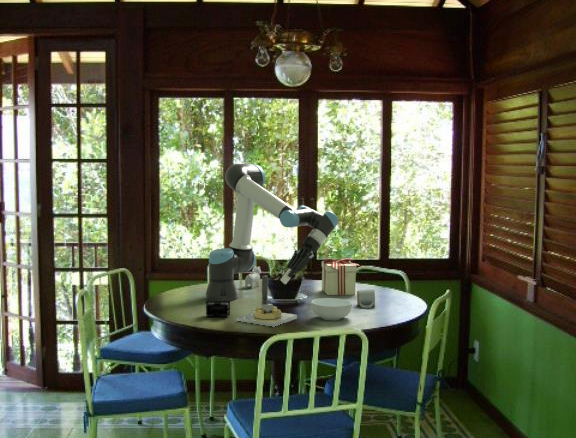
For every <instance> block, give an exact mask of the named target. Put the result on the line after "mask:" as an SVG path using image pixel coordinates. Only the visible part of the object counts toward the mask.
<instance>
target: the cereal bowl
mask: <svg viewBox="0 0 576 438" xmlns="http://www.w3.org/2000/svg"><path fill="white" fill-rule="evenodd" d="M310 304H311V311H312V312H313V313H314V315H316V316H317V317H320V318H321V319H323V320H325V321H338V320H341V319H342V318H345V317H347V316H349V314H350V313H351V311H352V306H353V302H352V301H350V300H348V299H345V298H338V297H337V298H336V297H335V298H334V297H323V298H316V299H312V301H311V303H310Z"/></svg>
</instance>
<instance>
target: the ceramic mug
mask: <svg viewBox="0 0 576 438" xmlns="http://www.w3.org/2000/svg"><path fill="white" fill-rule="evenodd" d="M375 292H376V291H375V288H368V289H359V290H357V291H356V301H357V302H356V303H357V306H360V307H361V308H363V309H370V308H372V307H375V306H376V294H375Z"/></svg>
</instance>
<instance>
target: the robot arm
mask: <svg viewBox="0 0 576 438" xmlns="http://www.w3.org/2000/svg"><path fill="white" fill-rule="evenodd" d="M224 179H225V182H226V185H228V187H229V188H230V189H232V191H234V192H236V194H237V200H236V202H237V203H236V207H235V208H236V209H235V219H234V228H233V235H232V237H233V239H232V241H231V242H230V243H229V245H228V247H227V248H225V247H224V248H223V247H222V248H216V249H214V250H211V251H210V252H209V255H208V285H207V289H206V292H205V299H206V301H230V302H231V301H234V300H237V299H238V292H237V289H236V286H235V283H234V280H235V279H234V275H236V274H244V273H247V272H249V271H252V270H253V267H254V266H256V261H257V258H256V257H257V256H256V254H255V252H254V249H253V248H254V247H253V245H252V244H251V239H252V238H251V237H252V229H253V221H254V213H255V203H256V204H257V205H259V207H261V208H263V209H264V210H266V211H267V212H268V213H270V214H271V215H273V216H274V217H276V218H277V219H279V221H280V225H282V226H283V227H284V228H296V227H297V228H298V227H303V226H308V227H311V231H310V233H308V235H307V236H306V237H305V238H304V239H303V241H302V246H301V247H300V248H299V250H297V249H295V250H294V251H293V255H292V256H291V258H290V260H289V261H288V263H287V265H286V267H287V270H286V272H284V274H283V275H282V277H281V278H280V281H281V283H283V284H284V285H287V283H289V281H290V279H291V278H292V277H293V276H294V274H296V273H297V272H298V273H299V272H301V271H302V270H303V269H304V268H305V266H307V265H308V264H309V262H311V260H313V259H314V258H315V255H314V253H317V252H318V251H319V250H320V248H321V246H323V244H324V243H325V241H326V240H327V239H328V238H329V236H330V235H331V234H332V232H333V230H334V229H335V228H336V227H337V225H338V223H339V221H340V220H339V217H338V216H337V214H335V213H334V212H332V211H329V210H327V211H325V212H324V213H320V212H319V211H316V210H315V209H312V208H311V207H309V206H306V205H303V204H302V205H300V206H299V207H297V208H296V209H295V208H293V206H291V205H290V204H287V203H286V202H285V201H284V200H283V199H280V198H279V197H278V196H276V195H274V194H273V193H272V192H270V191H268V189H266V188H264V187H263V185H264V184H265V182H266V173H265V171H264V169H263V168H262V167H261V166H260V165H258V164H255V163H234V164H232V165H230V166H229V167H228V168H227V169H226V171H225V175H224Z"/></svg>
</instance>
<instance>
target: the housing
mask: <svg viewBox="0 0 576 438" xmlns="http://www.w3.org/2000/svg"><path fill="white" fill-rule="evenodd" d="M273 306H274V305H273V303H265V304H262V303H261V307H262V310H264V313H272V310H273ZM297 319H298V315H297V314H293V313H286V312H281V317H279V318H275V319H260V318H255V317H254V311H253V312H251V313H248V314H243V315H242V316H239V317H237V318H236V322H237V321H241V322H240V323H243V322H247V323H246V324H250V323H253V324H252V325H256V324H259V325H258V326H263V325H265V327H269V326H272V327H271V328H276V327H278V325H279V326H281V325H283V323H284V324H287V323H290V322H291V321H294V320H297ZM280 324H281V325H280ZM275 326H276V327H275Z"/></svg>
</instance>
